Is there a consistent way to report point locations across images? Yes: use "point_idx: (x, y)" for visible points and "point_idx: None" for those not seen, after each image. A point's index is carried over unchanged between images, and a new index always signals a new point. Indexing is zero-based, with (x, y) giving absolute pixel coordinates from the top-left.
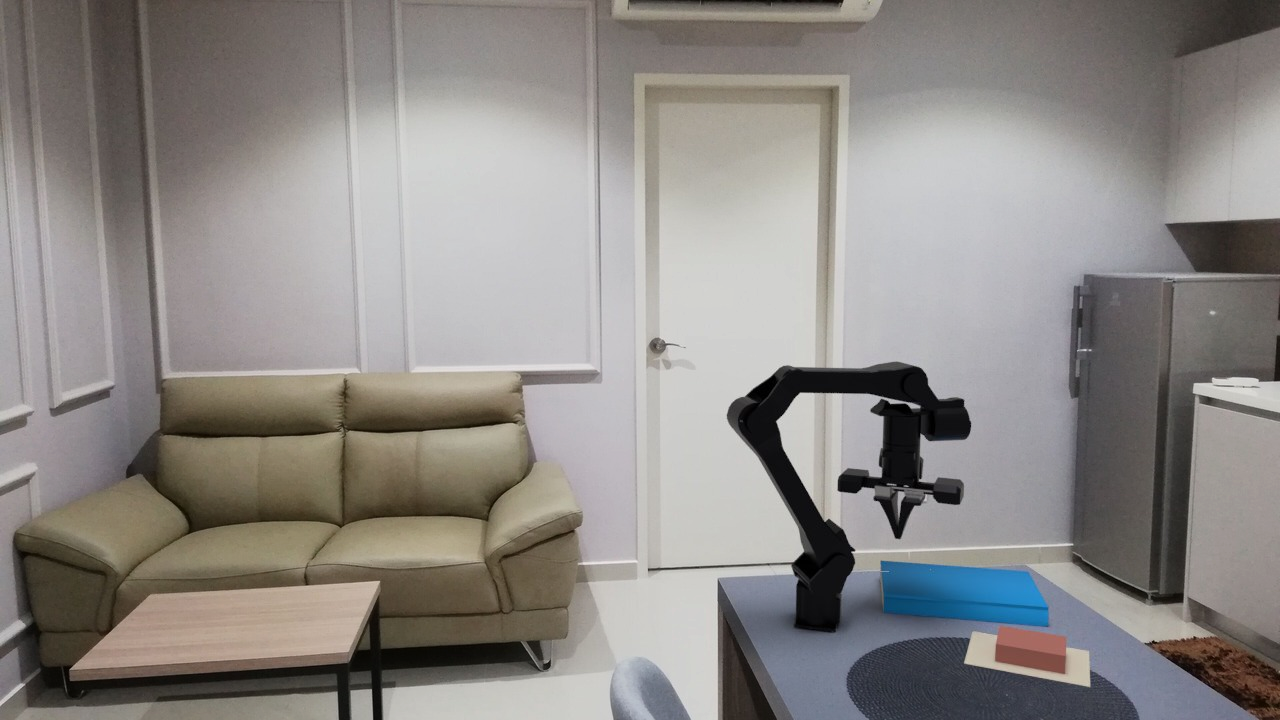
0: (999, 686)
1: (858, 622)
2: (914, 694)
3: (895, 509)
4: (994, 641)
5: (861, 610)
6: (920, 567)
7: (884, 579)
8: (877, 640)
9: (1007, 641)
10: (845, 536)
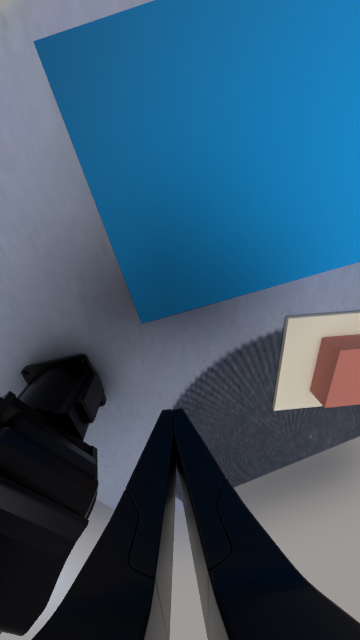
0: (305, 426)
1: (121, 355)
2: (227, 471)
3: (164, 608)
4: (316, 338)
5: (106, 309)
6: (173, 58)
7: (113, 235)
8: (164, 394)
9: (341, 395)
10: (48, 596)
